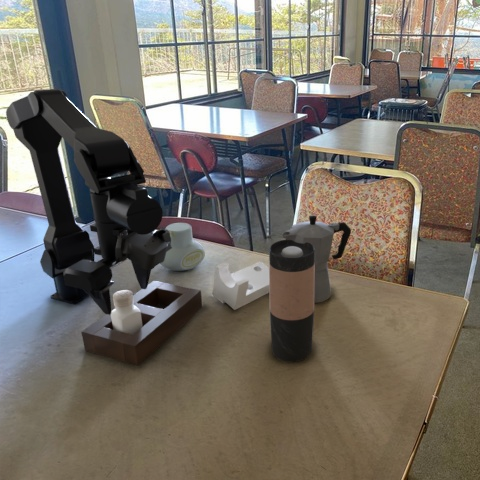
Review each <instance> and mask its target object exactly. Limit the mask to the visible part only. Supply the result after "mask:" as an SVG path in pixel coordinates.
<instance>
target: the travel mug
mask: <svg viewBox="0 0 480 480" xmlns="http://www.w3.org/2000/svg"><path fill="white" fill-rule="evenodd" d="M268 262H269V263H268V268H269V293H268V294H269V321H270V325H269V326H270V340H271V351H272V354H273V356H274V357H275V358H276V359H278V360H280V361H283V362H287V363H296V362H301V361H303V360H305V359H307V358H308V357H309V356H310V355H311V353H312V349H313V337H314V319H315V303H314V286H315V248H314V246H313V245H312V244H311V243H309V242H305V243H297V242H295V241H294V240H291V239H287V240H286V239H282V240H278V241H275V242H273V243H272V244H271V245H270V246H269V248H268Z"/></svg>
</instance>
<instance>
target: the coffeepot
mask: <svg viewBox="0 0 480 480" xmlns="http://www.w3.org/2000/svg"><path fill="white" fill-rule="evenodd" d="M317 218H318V217H317V215H315V214H314V215H312V214H311V215H309V216H308V219H309V221H301V222H299V223H296V224H293V225H291V228H290V229H287V230H284V232H282V234H281V238H282V239H283V238H284V240H287V239H291V240H294V241H295V242H297V243H305V242H309V243H311V244H312V245H313V246H314V248H315V286H314V304H318V303H322V302H325V301H327V300H328V299H329V298H331V297H332V290H331V279H330V273H329V265H328V262H329V260H330V255H331V249H332V244H333V241H334V234H336V233H339V232H343V233H342V234H341V238H340V242H339V245H338V247H337V252H336V253H335V254H332V255H331V257H332V259H333V260H338V259H341V258H342V257H343V255H344V252H345V249H346V246H347V244H348V241H349V238H350V236H351V234H352V228H351V227H350V226H349V225H348V224H347V223H346V222H344V221H342V222H331V223H329V224H328V223H325V222H323V221H317Z"/></svg>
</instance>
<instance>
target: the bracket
mask: <svg viewBox="0 0 480 480" xmlns="http://www.w3.org/2000/svg"><path fill="white" fill-rule="evenodd" d="M267 294H269V266H267V264H265V263H263V262H262V260H261V261H257V262H255V263H253V264H250V265H248V266H246V267H243V268H241V269H239V270H236V271H234V272H231V270H230V264H229V263H228V262H227V261H225V262H222V263H220V264H218V265H216V266H215V272H214V279H213V285H212V293H211V295H212V296H214V297H215V298H216V299H217V300H218V301H219V302H220V303H222V304H225V303H226V304H227V305H228V306H229V307H230V308H231V309H233V310H234V311H236V310H238V309H240V308H242V307H244V306H245V305H247V304H250V303H251V302H254V301H255V300H257V299H260V298H261V297H263V296H266V295H267Z"/></svg>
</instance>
